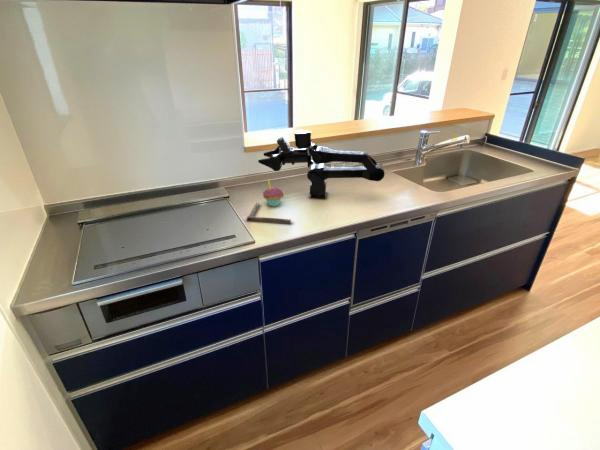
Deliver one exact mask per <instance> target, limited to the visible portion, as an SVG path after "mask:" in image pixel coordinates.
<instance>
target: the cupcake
mask: <svg viewBox="0 0 600 450" xmlns="http://www.w3.org/2000/svg"><path fill="white" fill-rule="evenodd" d="M267 183H268V188H265V189H264V191H263V192H262V197H263V198H264V199H265V201H266V202H267V205H268V206H269V207H278V206H279V205H280V203H281V200H282V199H283V198H284V192H283V190H282V188H280V187H277V186H271V182H270V179H267Z"/></svg>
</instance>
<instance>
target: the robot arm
mask: <svg viewBox="0 0 600 450" xmlns="http://www.w3.org/2000/svg"><path fill="white" fill-rule="evenodd" d="M293 134H294V145H295V147H296V148H295V147H293V146H292V147H291V145H290V142H289V140H288V138H287V136H286V135H284V136H281V137H279V138H278V139H277V140H276V142H277V147H276V148H275V149H272V150H269V151H266V152H263V156H264V157H266V158H262V159H261V158H260V159H258V160H257V161H258V163H259V164H261V165H262V166H265V167H268V168H270V169H271V170H272V171H274V172H279V171H280V170H281V169H282V166H286V164H291V165H292V166H294V165H295V164H305V163H306V164H307V168H308V171H307V174H306V176H307V179H308V181H310V183H311V184H310V186H309V195H310V199H321V200H322V199H323V200H325V199H326V198H327V197H326V196H327V181H326V180H327V179H364V180H368V181H371V182H380V181H382V180H383V179H384V178H385V174H386V173H385V169H384V166H383V164H382V163H380V162H378V161H376V160H375V158H373V157H372V156H371V155H370V154H369V153H368V152H367V151H364V150H363V151H353V150H335V149H331V148H329V147H325V146H320V145H317V144H315V143H314V142H312V131H311V130H310V131H309V130H304V129H299V130H295V131H294V133H293ZM333 162H336V163H337V162H339V163H356V164H357V163H359V164H362V166H339V167H338V166H336V167H335V166H334V167H333V166H332V167H331V166H326V165H325V164H328V163H333Z"/></svg>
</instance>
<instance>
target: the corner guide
mask: <svg viewBox="0 0 600 450" xmlns="http://www.w3.org/2000/svg"><path fill="white" fill-rule="evenodd" d="M259 207H260V202H256V203H255V205H254V207H253V208H252V210H251V212H250V214H249V215H248V216H247V217H246V221H247V222H259V223H272V224H283V225H284V224H285V225H291V223H292V219H290V218H279V217H277V218H275V217H262V216H255V214H256V213H257V212H258V209H259Z"/></svg>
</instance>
